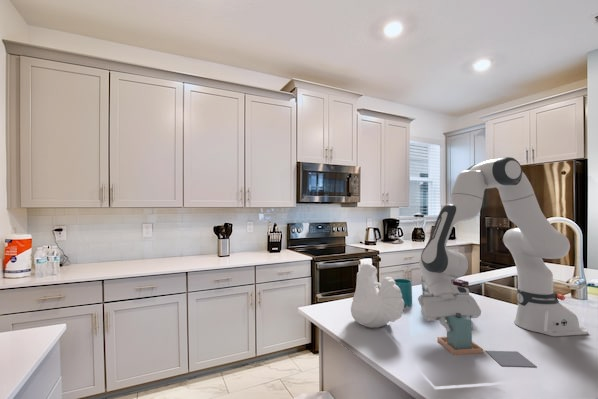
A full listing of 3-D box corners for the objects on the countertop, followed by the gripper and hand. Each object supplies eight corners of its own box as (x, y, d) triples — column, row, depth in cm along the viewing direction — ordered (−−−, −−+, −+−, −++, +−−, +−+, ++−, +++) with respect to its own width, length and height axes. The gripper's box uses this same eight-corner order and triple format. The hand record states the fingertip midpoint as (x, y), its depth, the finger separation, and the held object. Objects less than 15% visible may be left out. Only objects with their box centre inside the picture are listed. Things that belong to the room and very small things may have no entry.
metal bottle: (438, 313, 133) (437, 269, 133) (423, 312, 134) (421, 268, 135) (435, 308, 139) (434, 266, 140) (420, 307, 141) (419, 265, 141)
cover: (461, 342, 104) (460, 310, 104) (472, 349, 99) (471, 316, 99) (447, 343, 104) (446, 311, 104) (456, 350, 98) (455, 317, 98)
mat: (517, 353, 97) (517, 351, 97) (537, 369, 88) (536, 366, 88) (485, 353, 98) (485, 350, 98) (501, 368, 89) (501, 365, 89)
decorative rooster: (345, 318, 129) (343, 262, 130) (376, 314, 134) (375, 259, 134) (376, 344, 105) (374, 274, 106) (413, 337, 110) (411, 270, 111)
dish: (463, 340, 107) (463, 332, 107) (483, 354, 97) (483, 346, 97) (437, 342, 106) (437, 334, 106) (454, 356, 96) (454, 347, 96)
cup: (384, 302, 149) (384, 280, 149) (404, 299, 153) (403, 278, 153) (395, 308, 141) (395, 284, 141) (416, 305, 144) (415, 282, 145)
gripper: (419, 290, 108) (434, 328, 98) (472, 288, 109) (492, 325, 99) (413, 299, 112) (427, 336, 102) (464, 296, 114) (483, 333, 104)
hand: (460, 331), depth 101 cm, fingers closed on cover, 5 cm apart
